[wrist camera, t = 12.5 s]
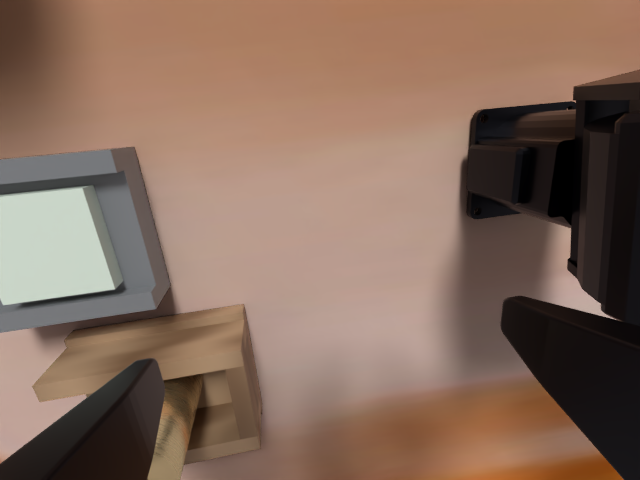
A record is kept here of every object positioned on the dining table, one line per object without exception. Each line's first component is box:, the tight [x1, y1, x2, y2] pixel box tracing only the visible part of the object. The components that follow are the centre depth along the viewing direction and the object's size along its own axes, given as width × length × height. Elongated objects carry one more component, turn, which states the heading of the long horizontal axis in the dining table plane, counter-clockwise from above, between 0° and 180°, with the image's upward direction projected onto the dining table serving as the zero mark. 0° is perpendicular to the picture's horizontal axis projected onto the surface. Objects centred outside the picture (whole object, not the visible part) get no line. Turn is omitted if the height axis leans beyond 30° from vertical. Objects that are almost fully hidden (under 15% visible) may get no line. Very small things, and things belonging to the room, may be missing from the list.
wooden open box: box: [32, 304, 262, 465], centre depth 20 cm, size 10×8×4 cm
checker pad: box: [0, 185, 123, 305], centre depth 15 cm, size 5×5×1 cm
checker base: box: [0, 147, 170, 333], centre depth 17 cm, size 8×8×3 cm
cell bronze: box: [147, 374, 203, 480], centre depth 17 cm, size 4×4×7 cm
